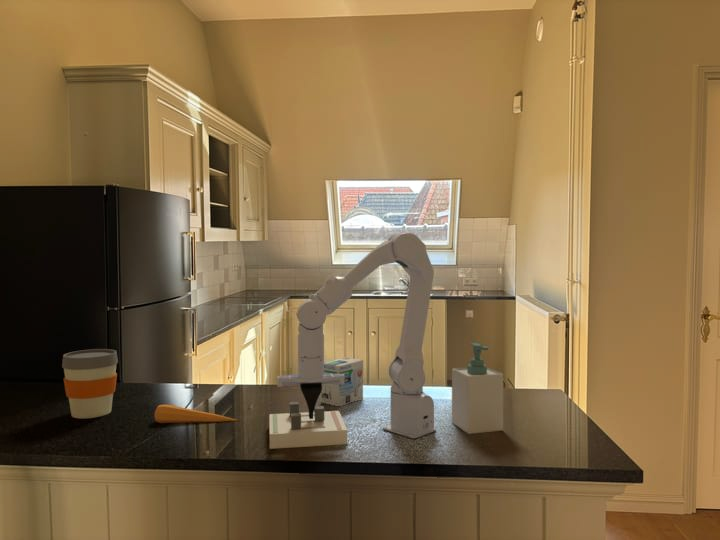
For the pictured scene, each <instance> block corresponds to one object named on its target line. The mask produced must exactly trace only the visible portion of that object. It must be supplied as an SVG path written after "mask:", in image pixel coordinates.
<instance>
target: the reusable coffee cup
mask: <svg viewBox="0 0 720 540" xmlns="http://www.w3.org/2000/svg"><path fill="white" fill-rule="evenodd" d="M117 364H119V359H118V353H117V350H115V349H107V348H94V349H93V348H92V349H83V350H76V351H70V352H67V353H64V354H63V356H62V363H61V368H63V373H64V377H63V384H64V390H65V395H66V396H65V397H66V398H68V402H69V409H70V413H71V414H70V415H71V417H72V418H75V419H93V418H99V417H103V416H106V415H108V414H110V413H111V412H112V407H113V397H114V393H115V392H116V386H117V377H118V373H117V372H116V370H117Z"/></svg>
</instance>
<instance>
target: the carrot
mask: <svg viewBox="0 0 720 540" xmlns="http://www.w3.org/2000/svg"><path fill="white" fill-rule="evenodd" d="M153 417H154V420H155V422H156V423H159V424H175V423H176V424H177V423H179V424H181V423H183V424H185V423H217V422H219V423H220V422H239V421H238V420H239V419H236V418H232V417H228V416H224V415H220V414H216V413H212V412H211V413H210V412H205V411H201V410H196V409H190V408H187V407H181V406H176V405H173V404H172V405H171V404H160V405H158V406H157V407H156V409H155V410H154V412H153Z"/></svg>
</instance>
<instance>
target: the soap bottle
mask: <svg viewBox="0 0 720 540" xmlns="http://www.w3.org/2000/svg"><path fill="white" fill-rule="evenodd" d="M470 345H471V346H472V347H473V348H472V353H473V355H474V357H472V358H471V359H470V363H469V364H467V366H466V367H465V366H464V367H453V368H452V369H451V370H452V371H451V381H452V382H451V422H452V424H453V425H455V426H457V427H458V428H459V429H461V430H462V431H464V432H465V433H466V434H467V435H472V434H473V435H474V434H483V433H492V432H500V431H501V432H502V431H504V373H503V372H500V371H497V370H495V369H492V368H490V367H488V366H487V364H485V360H484V359H483V358H481V355H482V351H483V350H484V351H488V349H489V347H488V346H487V345H483V344H480V343H478V342H470Z"/></svg>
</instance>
